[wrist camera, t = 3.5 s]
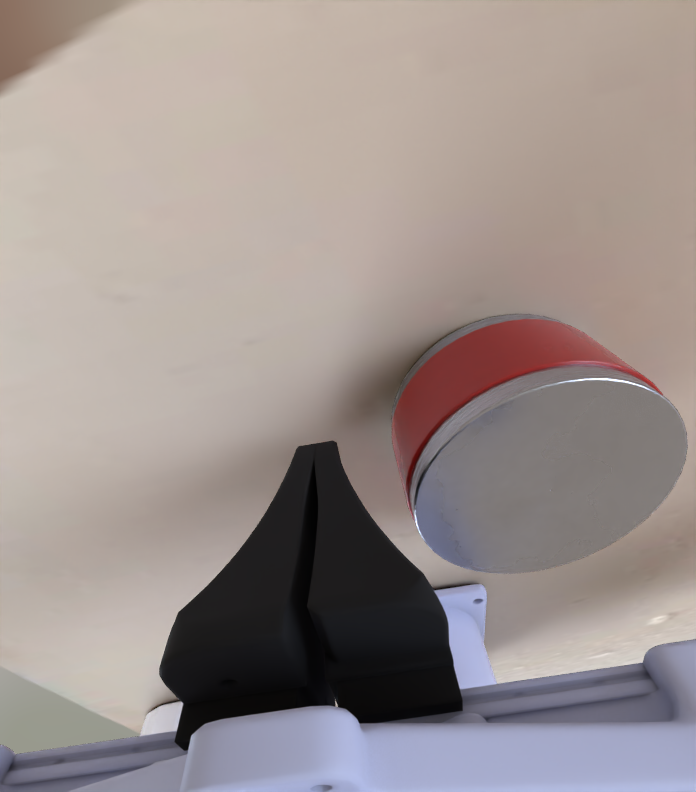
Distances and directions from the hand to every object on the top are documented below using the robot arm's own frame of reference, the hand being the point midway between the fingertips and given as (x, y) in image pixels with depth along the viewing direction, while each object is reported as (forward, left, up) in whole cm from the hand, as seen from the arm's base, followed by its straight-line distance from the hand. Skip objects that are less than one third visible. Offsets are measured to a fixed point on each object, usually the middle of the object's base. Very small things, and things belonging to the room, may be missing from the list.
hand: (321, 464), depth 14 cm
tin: (0, -7, -1) cm, 7 cm away
